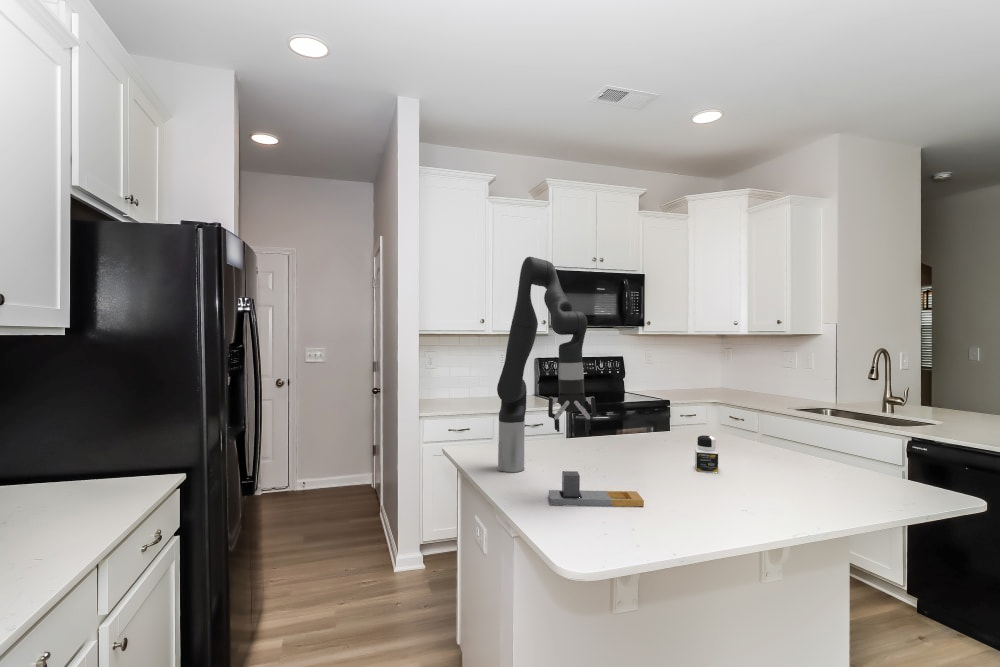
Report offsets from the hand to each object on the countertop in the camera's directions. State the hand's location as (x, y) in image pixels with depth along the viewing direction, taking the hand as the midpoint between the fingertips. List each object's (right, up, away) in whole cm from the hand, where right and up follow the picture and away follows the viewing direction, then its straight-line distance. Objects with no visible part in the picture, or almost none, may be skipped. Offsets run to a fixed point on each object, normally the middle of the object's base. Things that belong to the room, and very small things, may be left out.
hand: (572, 431), depth 151 cm
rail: (+6, -19, -6) cm, 21 cm away
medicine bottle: (+52, -20, +29) cm, 63 cm away
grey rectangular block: (-1, -19, -6) cm, 20 cm away
